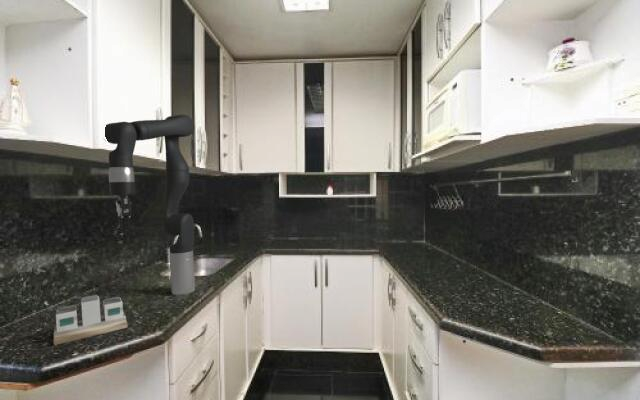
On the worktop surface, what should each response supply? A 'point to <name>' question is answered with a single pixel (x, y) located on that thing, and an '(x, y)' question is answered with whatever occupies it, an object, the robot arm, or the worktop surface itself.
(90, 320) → the block
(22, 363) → the worktop surface
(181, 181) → the robot arm
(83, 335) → the rail board
